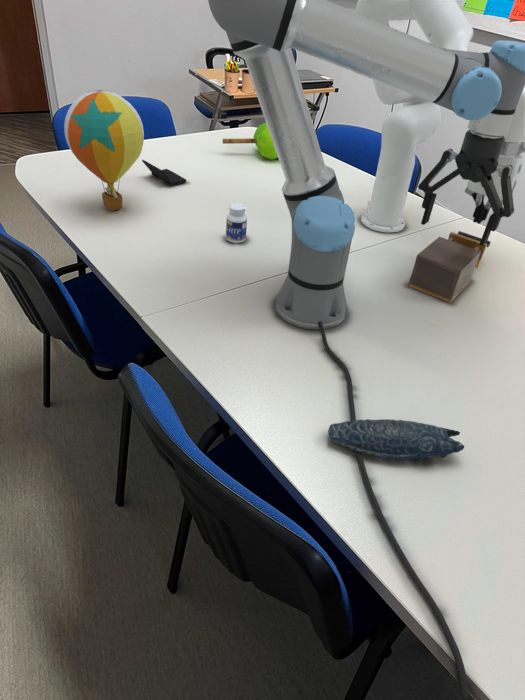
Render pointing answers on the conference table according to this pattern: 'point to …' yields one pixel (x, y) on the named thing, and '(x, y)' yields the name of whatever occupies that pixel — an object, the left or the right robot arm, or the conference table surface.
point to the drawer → (469, 242)
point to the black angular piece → (165, 175)
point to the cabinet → (444, 269)
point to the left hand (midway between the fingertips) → (453, 232)
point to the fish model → (395, 438)
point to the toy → (105, 138)
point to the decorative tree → (259, 142)
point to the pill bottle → (236, 223)
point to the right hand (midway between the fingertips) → (478, 221)
